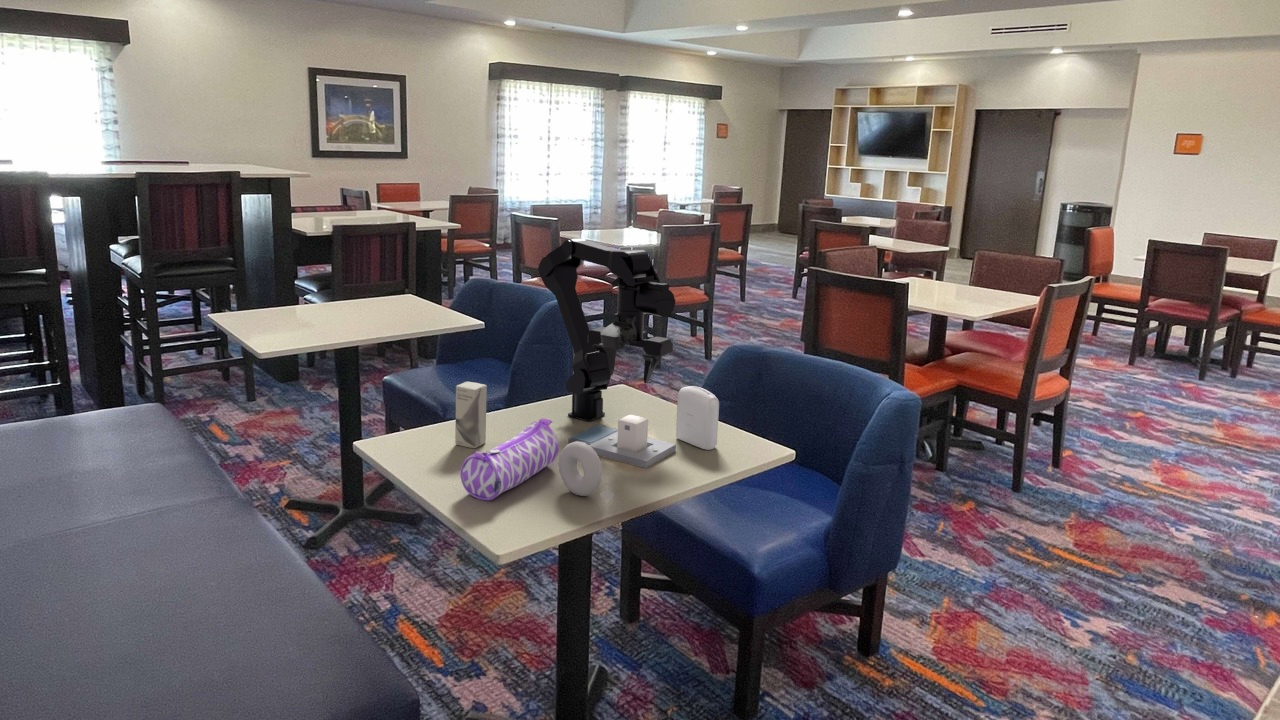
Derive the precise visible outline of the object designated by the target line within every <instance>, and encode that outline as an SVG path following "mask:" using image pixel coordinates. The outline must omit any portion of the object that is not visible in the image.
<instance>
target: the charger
mask: <svg viewBox="0 0 1280 720" xmlns="http://www.w3.org/2000/svg"><path fill="white" fill-rule="evenodd" d="M617 430H618V440H617V448H621V449H625V450H628V451H632V452H636V453H638V452H640V451H642V450H644V449H646V448H647V437H648V436H649V434H648V433H649V432H648V431H649V418H648V417H647V418H646V417H644V416H643V417H642V416H638V415H635V414H628V415H626V416H624V417H621V418H619V419H618V420H617Z"/></svg>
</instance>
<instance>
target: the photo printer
mask: <svg viewBox="0 0 1280 720" xmlns="http://www.w3.org/2000/svg"><path fill="white" fill-rule="evenodd" d="M676 405H677V406H676V424H675V425H676V427H675V437H676V438H677V439H678V440H680V441H682V442H685V443H688V444H690V445H692V446H695V447H698V448H700V449H703V450H706V451H707V450H708V451H709V450H714V449H716V446H717V444H718V432H719V431H718V430H719V427H718V426H719V411H720V401H719V399H718V398H717V397H716V395H715V394H713V393H712V392H711V391H709V390H707V389H705V388H702V387H699V386H696V385H688V386H685V387H684V386H683V387H682V388H680V390H679V391H678V393H677V401H676Z"/></svg>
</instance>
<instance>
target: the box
mask: <svg viewBox="0 0 1280 720" xmlns="http://www.w3.org/2000/svg"><path fill="white" fill-rule="evenodd" d="M487 389H488V386H487V384H483V383H479V382H473V381H464V382H462V383H460V384H457V385H455V431H454V432H455V434H454V435H455V437H454V438H455V442H454V444H455V445H458V446H461V447H466V448H471V449H476V448H478V447H480V446H482V445H484V444H485V443H486V438H487V437H486V436H487V435H486V434H487V433H486V432H487Z"/></svg>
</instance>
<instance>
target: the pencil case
mask: <svg viewBox="0 0 1280 720" xmlns="http://www.w3.org/2000/svg"><path fill="white" fill-rule="evenodd" d="M551 424H553V420H552V419H548V418H540V419H539V420H538V421H533V422H531V423H529V424H528V425H527V426H526V427H525V429H522V430H521V431H520V432H519V433H517V434H515V436H514V437H512V438H509V440H507V441H505V442H502V443H500V444H499V445H497V446H495V447H494V448H491V449H490V450H486V451H485V452H478V451H477V450H476V451H475V452H474V453H473V454H471V455H469V456H467V457H466V458H465V459H464V461H463V463H462V465H461V467H460V471H459V472H460V473H459V474H460V480H461V484H462V486H463V488H464V490H465V491H466V492H467V493H468V494H469V495H471V496H472V497H473V498H475V499H478V500H481V501H486V502H488V501H493V500H494V499H495V498H497V497H498V496H500V495H501V494H502V493H505V492H507V491H509V490H511V489H513V488H515V487H517V486H519V485H521V484H522V483H523V482H525V481H527V480H528V479H530V478H531V477H532V476H534V475H536V474H537V473H539V472H540V471H542V470H543V469H545V468H546V467H547V466H550V465H551V464H553V463H554V461H556V459H557V456H558V454H559V440H558V437H557V435H556V433H555V431H554V430H553V429H552V428H551V427H550V425H551Z"/></svg>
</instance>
